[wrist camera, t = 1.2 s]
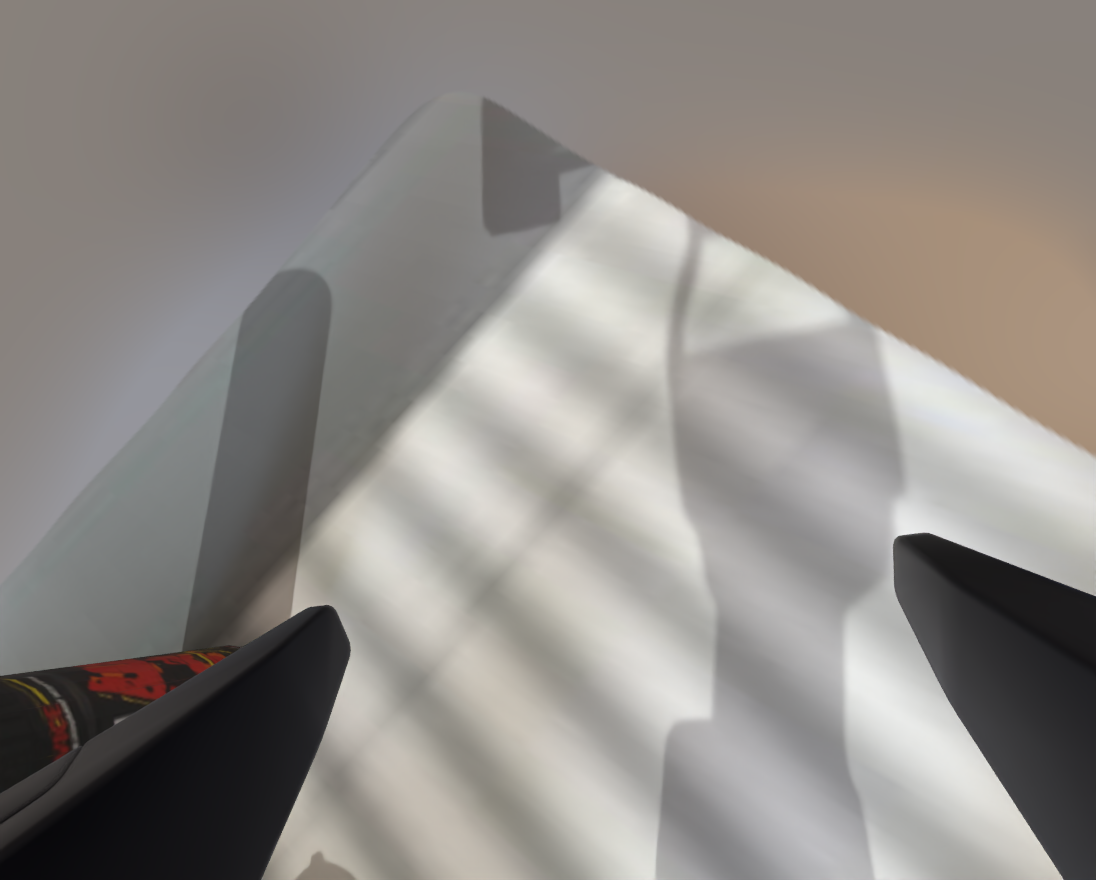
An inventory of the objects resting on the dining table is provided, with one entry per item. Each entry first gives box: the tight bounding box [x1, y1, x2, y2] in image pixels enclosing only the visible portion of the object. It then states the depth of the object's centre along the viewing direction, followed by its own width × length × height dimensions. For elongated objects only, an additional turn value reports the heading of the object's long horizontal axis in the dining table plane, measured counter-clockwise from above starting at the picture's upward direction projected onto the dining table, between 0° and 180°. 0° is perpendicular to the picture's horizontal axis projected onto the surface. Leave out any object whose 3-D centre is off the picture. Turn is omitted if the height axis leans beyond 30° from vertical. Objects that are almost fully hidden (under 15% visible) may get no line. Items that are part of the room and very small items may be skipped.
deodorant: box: [0, 646, 242, 793], centre depth 19 cm, size 6×6×15 cm
